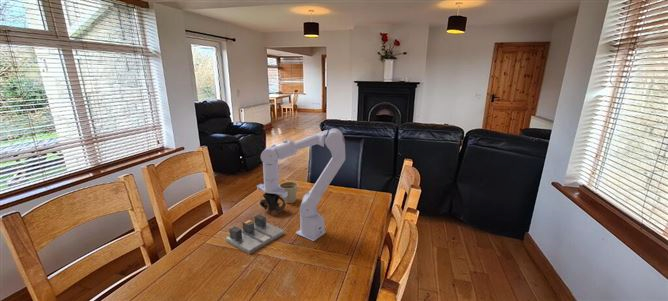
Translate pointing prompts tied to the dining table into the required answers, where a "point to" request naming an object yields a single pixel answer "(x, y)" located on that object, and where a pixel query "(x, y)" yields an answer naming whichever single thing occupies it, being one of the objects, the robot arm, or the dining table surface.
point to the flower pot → (289, 191)
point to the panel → (254, 235)
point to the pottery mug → (278, 209)
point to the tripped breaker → (248, 226)
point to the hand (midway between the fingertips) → (273, 209)
